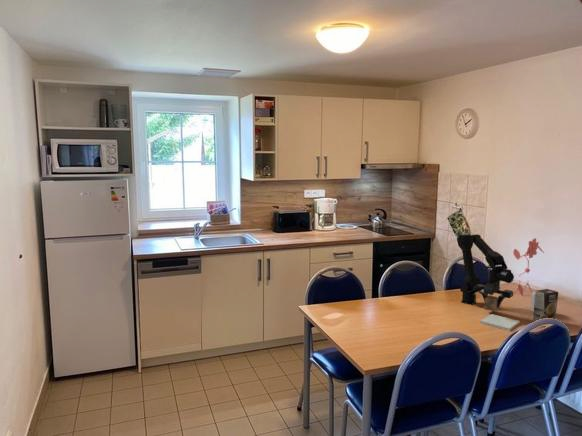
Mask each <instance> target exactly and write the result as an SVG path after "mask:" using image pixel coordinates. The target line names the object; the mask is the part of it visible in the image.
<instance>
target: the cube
mask: <svg viewBox="0 0 582 436" xmlns="http://www.w3.org/2000/svg"><path fill="white" fill-rule="evenodd" d="M498 300H499V298H498V296H493V295H490V294H488V296H487V297H485V302H484V303H483V304H484V305H483V306H484V307H483V309H485V310H489V311H491V312H492V311H493V312H498V310H500V308H501V306H500V307H499V308H498Z"/></svg>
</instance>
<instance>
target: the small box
mask: <svg viewBox="0 0 582 436" xmlns="http://www.w3.org/2000/svg"><path fill="white" fill-rule="evenodd" d="M535 293H536V291H532V293H531V306H530V311H531V312H532V313H534V303H535Z"/></svg>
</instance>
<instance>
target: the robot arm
mask: <svg viewBox="0 0 582 436" xmlns="http://www.w3.org/2000/svg"><path fill="white" fill-rule="evenodd" d="M456 241H457V246H458V247H459V249H460V250H461V254H462V260H463V264H464V271H465V272H464V273H465V276H464V279H463V284H462V285H461V286H460V288H459V290H460V292H462V298H461V299H462V300H460V302H461V303H465V304H469V305H474V304H476V303H477V294H476V293H479V294H480V295H482V298H483V301H484V303H485V297H487V296H489V295H490V296H493V295H494V294H499V296H497V297H498V298H499V300H498V308H499V307H500V308H501V304H502V303H503V301H504V299H511V298H512V297H514V291H513V290H510V289H504V290H501V287H500V284H501V282H504V283H506V284H510V283H512V282H513V281H514V279H515V276H514V273H513V272H512V270H511V269H508V265H507V264H506V261H505V258H504V256H503V255H502V254H501V253H500V252H498V251H495V250H493V249H492V248H491V247H490V246H489V244H488V243H486V241H485V240H484V239H483V238H482V236H481V235H480V234H477V233H476V234H458V236H457V238H456ZM474 245H475V246H476V247H477V248H478V249H479V251H480V252H481V253H482V254H483V256H484V259H485V261H486V262H487V264H488V265H486V267H485V268H487V269H488V279H487V282H486V284H482V283H481V278H480V276H477V274H476V271H475V265H474V258H473V254H472V253H473V252H472V249H473V246H474Z"/></svg>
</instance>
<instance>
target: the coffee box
mask: <svg viewBox="0 0 582 436" xmlns="http://www.w3.org/2000/svg"><path fill="white" fill-rule="evenodd" d="M535 292H536V293H535V303H534V313H533V312H532V313H533V316H532V321H533V322H535V321H536V320H539V319H543V318H553V319H556V320H557V310H558V300H559V299H558V298H559V291H557V290H553V289H549V288H545V289H538V290H535Z"/></svg>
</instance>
